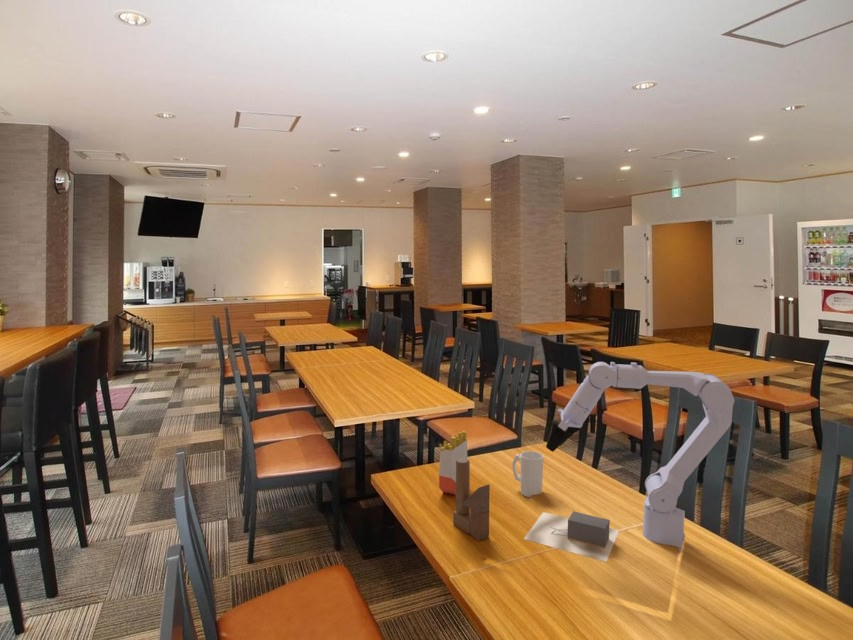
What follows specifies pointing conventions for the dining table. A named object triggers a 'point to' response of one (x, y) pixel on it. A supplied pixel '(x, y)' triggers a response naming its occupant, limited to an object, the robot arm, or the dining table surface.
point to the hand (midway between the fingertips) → (553, 446)
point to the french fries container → (451, 462)
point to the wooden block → (471, 504)
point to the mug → (529, 472)
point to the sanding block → (588, 529)
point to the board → (555, 535)
